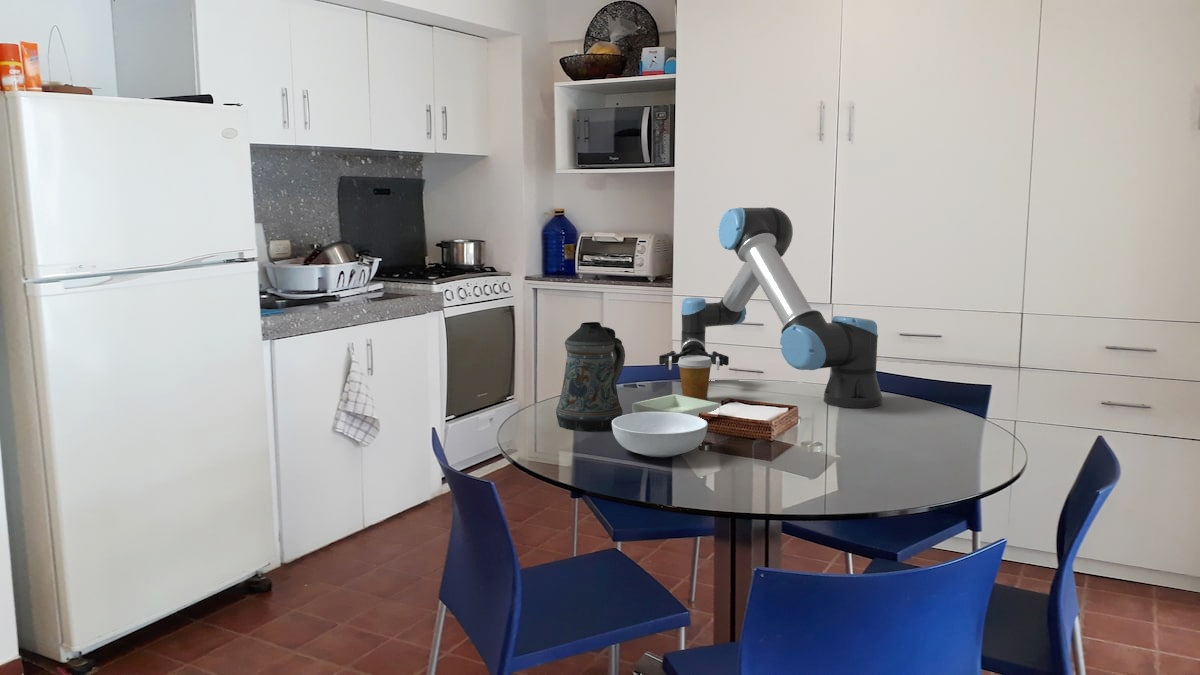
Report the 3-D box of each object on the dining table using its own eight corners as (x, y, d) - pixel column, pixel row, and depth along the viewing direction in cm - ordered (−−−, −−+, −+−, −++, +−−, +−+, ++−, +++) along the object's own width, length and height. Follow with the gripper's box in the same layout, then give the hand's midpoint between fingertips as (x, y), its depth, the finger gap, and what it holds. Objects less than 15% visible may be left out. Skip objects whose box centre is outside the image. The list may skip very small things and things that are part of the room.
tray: (719, 416, 226) (719, 403, 226) (676, 427, 216) (676, 413, 216) (674, 406, 238) (674, 394, 237) (632, 416, 228) (632, 403, 227)
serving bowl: (719, 462, 187) (719, 430, 186) (621, 468, 183) (621, 435, 182) (693, 437, 207) (693, 408, 206) (604, 442, 204) (604, 413, 203)
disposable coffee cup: (711, 397, 249) (712, 355, 247) (712, 405, 240) (712, 361, 238) (677, 397, 250) (677, 355, 248) (677, 404, 241) (677, 360, 239)
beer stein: (547, 429, 216) (545, 327, 212) (571, 411, 234) (569, 317, 230) (613, 433, 211) (612, 329, 208) (632, 414, 230) (631, 318, 226)
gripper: (734, 364, 274) (738, 378, 253) (652, 364, 276) (650, 377, 255) (734, 340, 272) (738, 352, 252) (652, 340, 275) (650, 351, 254)
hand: (694, 365), depth 253 cm, fingers open, 13 cm apart
